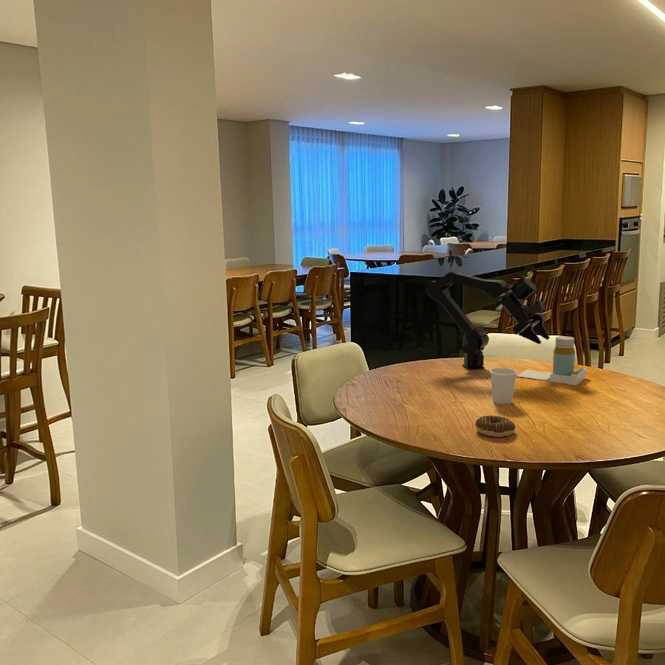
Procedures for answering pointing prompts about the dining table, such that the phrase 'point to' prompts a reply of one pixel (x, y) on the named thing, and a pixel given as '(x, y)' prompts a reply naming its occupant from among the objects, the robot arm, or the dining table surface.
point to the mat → (535, 375)
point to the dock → (570, 377)
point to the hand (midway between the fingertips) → (544, 341)
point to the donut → (494, 426)
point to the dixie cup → (503, 384)
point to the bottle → (564, 356)
